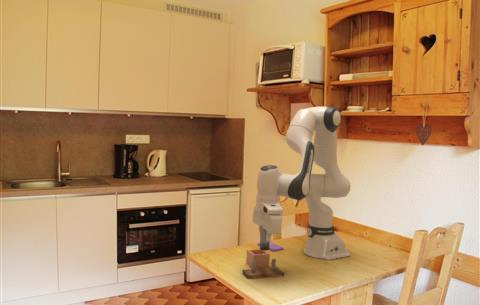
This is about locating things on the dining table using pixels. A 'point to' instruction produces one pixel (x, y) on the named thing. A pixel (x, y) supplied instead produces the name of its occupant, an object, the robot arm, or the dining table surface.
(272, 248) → the sponges
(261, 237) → the steel pin
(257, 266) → the socket
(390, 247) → the dining table surface
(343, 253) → the robot arm
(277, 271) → the peg board
